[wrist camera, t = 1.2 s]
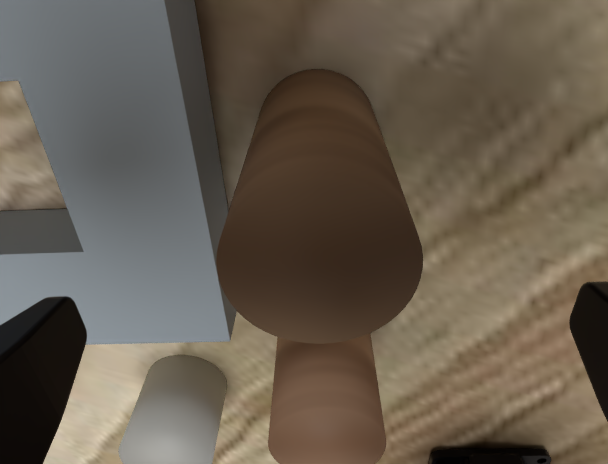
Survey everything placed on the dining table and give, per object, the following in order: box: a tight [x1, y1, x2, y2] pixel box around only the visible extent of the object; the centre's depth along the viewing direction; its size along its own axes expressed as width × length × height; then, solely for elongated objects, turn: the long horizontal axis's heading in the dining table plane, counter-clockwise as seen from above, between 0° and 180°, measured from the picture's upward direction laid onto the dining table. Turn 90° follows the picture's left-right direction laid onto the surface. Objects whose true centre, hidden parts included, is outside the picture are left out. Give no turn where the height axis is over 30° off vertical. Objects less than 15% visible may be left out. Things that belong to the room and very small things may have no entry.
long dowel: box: [216, 69, 423, 344], centre depth 12 cm, size 4×4×8 cm
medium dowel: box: [268, 333, 386, 464], centre depth 18 cm, size 4×4×6 cm
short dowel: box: [119, 355, 227, 464], centre depth 21 cm, size 4×4×4 cm
